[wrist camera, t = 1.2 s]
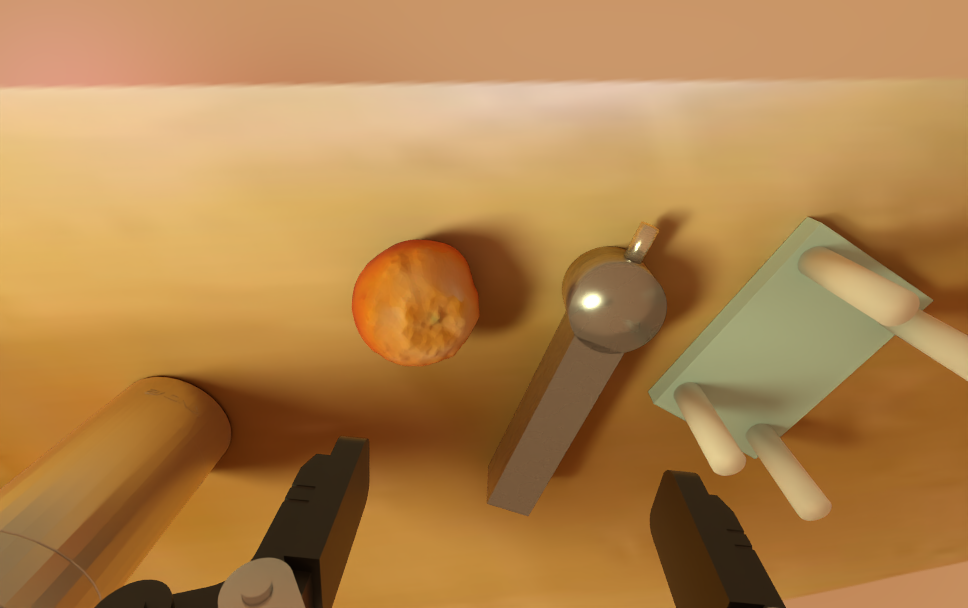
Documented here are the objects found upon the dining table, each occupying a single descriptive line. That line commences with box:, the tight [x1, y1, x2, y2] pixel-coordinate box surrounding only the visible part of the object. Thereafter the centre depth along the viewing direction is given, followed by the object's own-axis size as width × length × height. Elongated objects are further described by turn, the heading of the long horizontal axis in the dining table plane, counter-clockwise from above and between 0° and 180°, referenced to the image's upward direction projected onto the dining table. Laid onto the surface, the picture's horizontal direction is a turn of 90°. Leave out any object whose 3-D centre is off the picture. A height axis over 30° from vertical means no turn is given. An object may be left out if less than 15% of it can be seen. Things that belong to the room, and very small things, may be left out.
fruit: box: [352, 240, 480, 366], centre depth 31 cm, size 8×8×8 cm
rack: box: [648, 217, 968, 521], centre depth 30 cm, size 16×10×8 cm, turn 150°
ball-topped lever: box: [487, 222, 667, 516], centre depth 34 cm, size 24×6×4 cm, turn 160°
